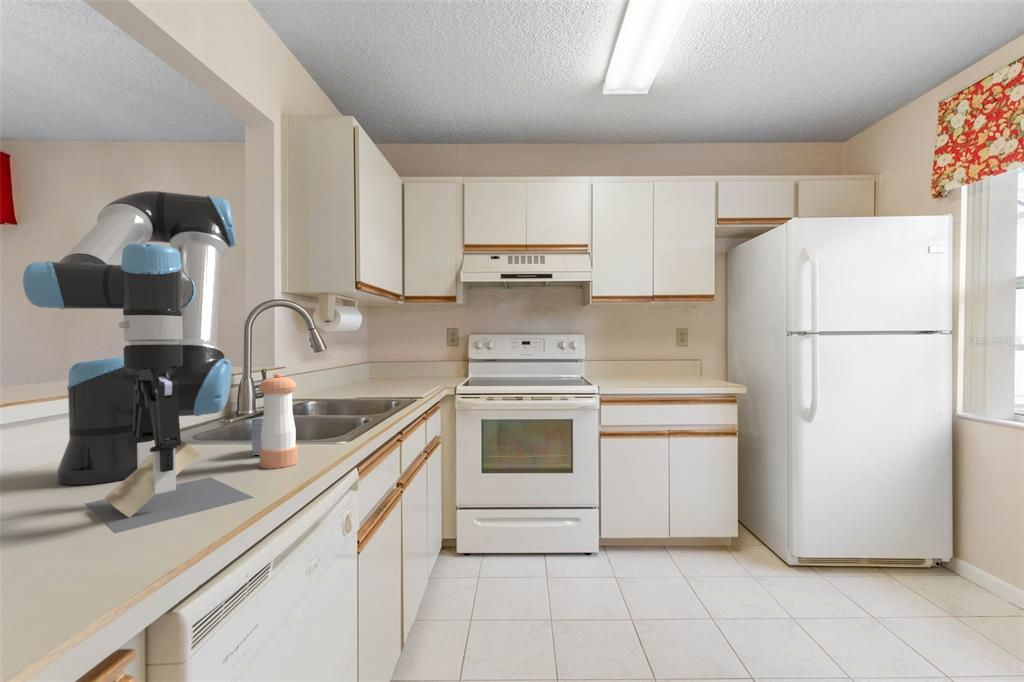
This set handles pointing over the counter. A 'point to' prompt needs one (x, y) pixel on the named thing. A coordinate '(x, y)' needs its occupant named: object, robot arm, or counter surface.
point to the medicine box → (256, 435)
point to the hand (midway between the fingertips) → (156, 486)
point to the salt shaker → (278, 423)
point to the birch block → (145, 482)
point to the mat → (170, 504)
